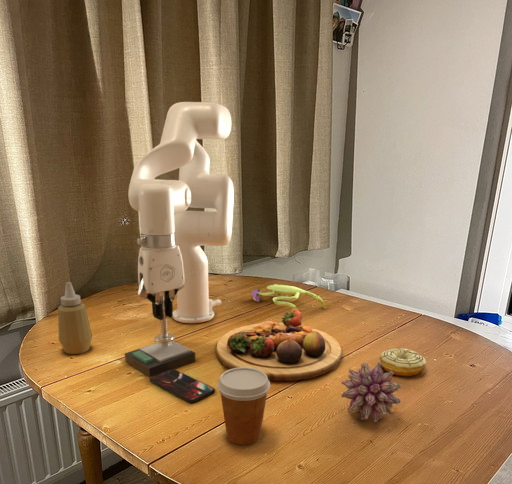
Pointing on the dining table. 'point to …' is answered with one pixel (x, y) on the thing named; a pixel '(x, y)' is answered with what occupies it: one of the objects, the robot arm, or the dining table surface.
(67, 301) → the squeeze bottle
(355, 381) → the flower
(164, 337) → the screw
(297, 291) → the figurine
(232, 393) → the disposable coffee cup
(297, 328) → the wooden plate
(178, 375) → the smartphone
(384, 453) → the dining table surface
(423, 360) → the decorated donut
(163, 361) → the scale
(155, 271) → the robot arm
